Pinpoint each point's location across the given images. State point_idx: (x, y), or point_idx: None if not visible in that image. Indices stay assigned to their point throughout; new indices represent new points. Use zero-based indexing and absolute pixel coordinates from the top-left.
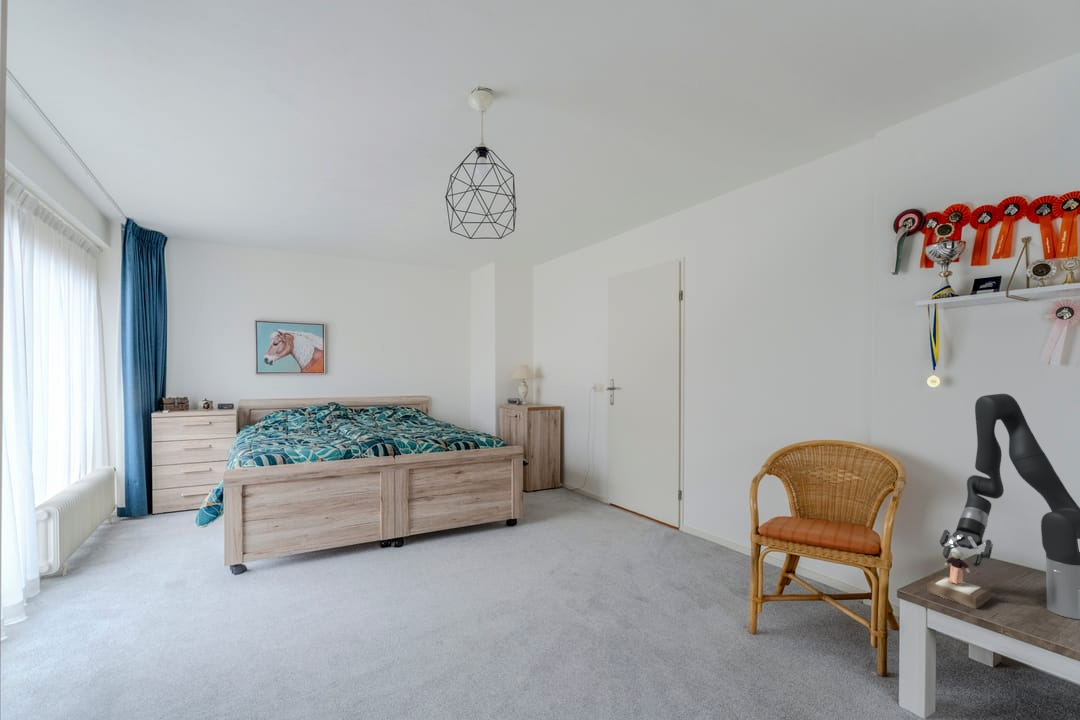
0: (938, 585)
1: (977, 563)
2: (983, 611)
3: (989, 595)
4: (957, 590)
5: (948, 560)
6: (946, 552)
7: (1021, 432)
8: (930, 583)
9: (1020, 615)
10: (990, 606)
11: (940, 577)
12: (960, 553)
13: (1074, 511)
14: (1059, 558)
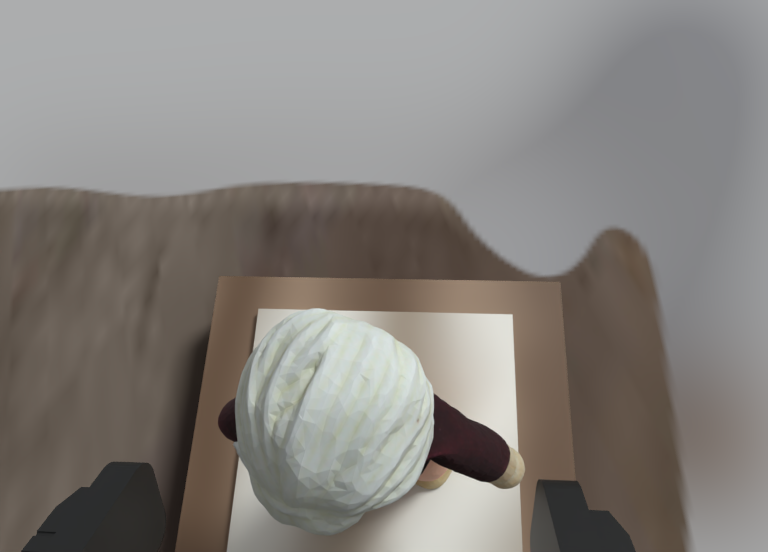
0: (482, 305)
1: (86, 488)
2: (205, 301)
3: None
4: (346, 311)
5: (473, 422)
6: (563, 533)
7: None
8: (539, 295)
9: (23, 434)
10: (185, 432)
11: None
12: (253, 351)
13: None
14: None
